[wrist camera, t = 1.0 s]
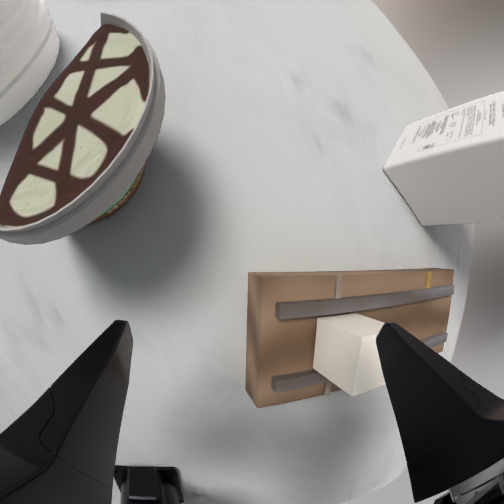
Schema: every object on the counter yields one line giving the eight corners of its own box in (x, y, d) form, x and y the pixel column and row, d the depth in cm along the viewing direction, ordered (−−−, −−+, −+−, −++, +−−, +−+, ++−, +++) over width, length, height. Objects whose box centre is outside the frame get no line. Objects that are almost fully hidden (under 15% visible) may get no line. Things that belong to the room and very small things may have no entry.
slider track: (425, 345, 28) (447, 352, 25) (245, 390, 21) (261, 413, 17) (434, 267, 28) (458, 270, 25) (248, 272, 21) (266, 278, 17)
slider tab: (349, 359, 20) (391, 382, 15) (312, 367, 19) (352, 396, 14) (355, 313, 20) (401, 328, 15) (317, 317, 19) (361, 337, 14)
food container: (125, 268, 18) (88, 294, 8) (53, 239, 16) (-25, 237, 6) (189, 116, 19) (215, 31, 9) (121, 93, 17) (107, 5, 7)
